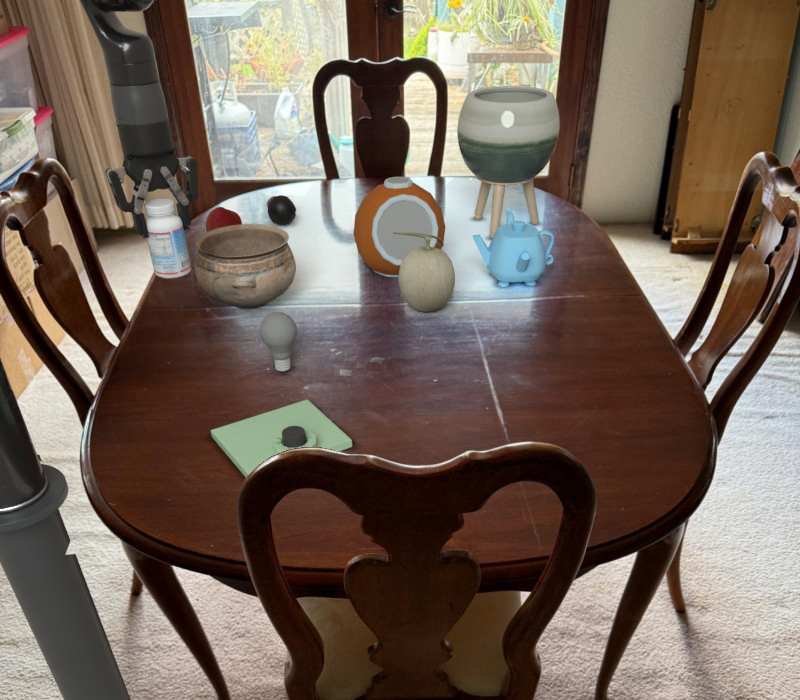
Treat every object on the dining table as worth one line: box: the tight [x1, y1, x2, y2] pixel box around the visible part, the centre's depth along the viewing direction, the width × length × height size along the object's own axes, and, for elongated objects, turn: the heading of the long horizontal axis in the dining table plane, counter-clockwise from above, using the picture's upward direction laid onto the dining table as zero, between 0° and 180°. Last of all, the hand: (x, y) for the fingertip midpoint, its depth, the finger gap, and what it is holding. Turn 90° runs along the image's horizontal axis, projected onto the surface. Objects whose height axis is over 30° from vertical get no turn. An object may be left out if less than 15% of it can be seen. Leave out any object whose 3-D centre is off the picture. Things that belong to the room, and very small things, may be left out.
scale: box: [210, 399, 353, 479], centre depth 113 cm, size 16×15×3 cm
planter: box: [456, 85, 561, 239], centre depth 175 cm, size 22×22×28 cm
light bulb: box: [259, 311, 298, 372], centre depth 128 cm, size 6×6×10 cm
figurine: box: [265, 195, 297, 227], centre depth 192 cm, size 8×7×18 cm
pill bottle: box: [143, 197, 192, 279], centre depth 126 cm, size 6×6×11 cm
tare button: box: [282, 426, 306, 448], centre depth 108 cm, size 3×3×2 cm
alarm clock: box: [353, 176, 446, 278], centre depth 161 cm, size 19×18×17 cm
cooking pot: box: [194, 223, 297, 310], centre depth 149 cm, size 25×19×12 cm
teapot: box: [472, 208, 555, 288], centre depth 156 cm, size 15×14×11 cm
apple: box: [205, 206, 243, 233], centre depth 176 cm, size 8×8×8 cm
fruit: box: [393, 232, 456, 313], centre depth 145 cm, size 10×12×15 cm
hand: (164, 232), depth 125 cm, fingers closed on pill bottle, 6 cm apart
